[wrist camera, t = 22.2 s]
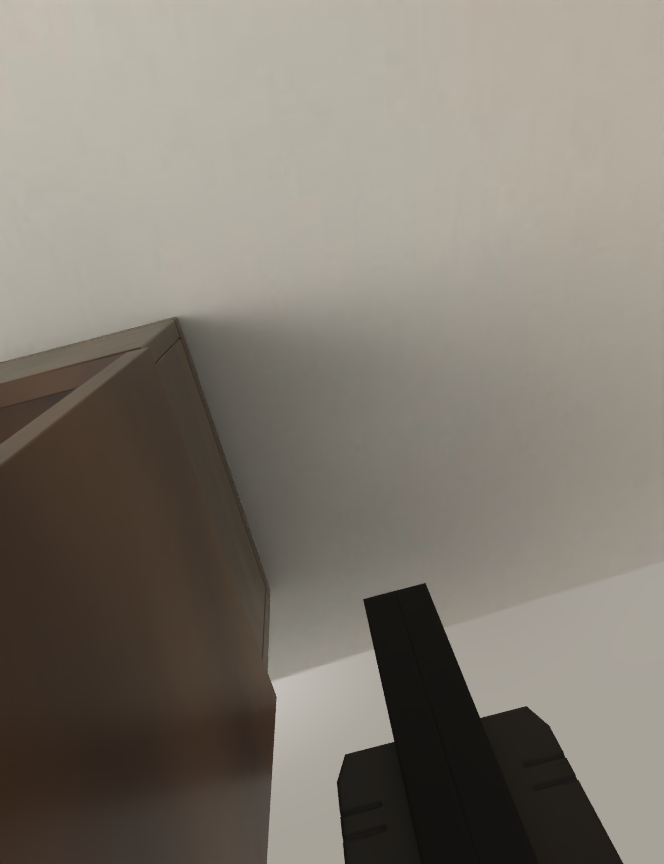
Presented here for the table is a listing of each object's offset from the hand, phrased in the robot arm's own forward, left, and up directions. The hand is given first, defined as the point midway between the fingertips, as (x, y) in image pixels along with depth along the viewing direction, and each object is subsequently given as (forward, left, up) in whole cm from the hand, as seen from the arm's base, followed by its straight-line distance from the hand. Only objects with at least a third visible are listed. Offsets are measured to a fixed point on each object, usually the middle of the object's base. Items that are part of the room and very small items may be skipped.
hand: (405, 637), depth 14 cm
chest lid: (-7, 0, +4) cm, 8 cm away
